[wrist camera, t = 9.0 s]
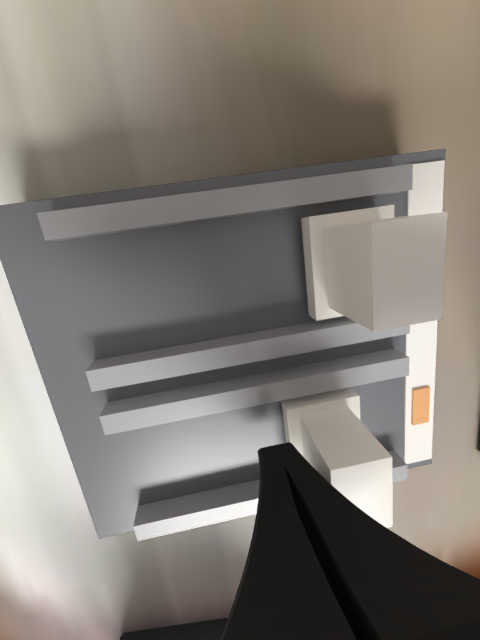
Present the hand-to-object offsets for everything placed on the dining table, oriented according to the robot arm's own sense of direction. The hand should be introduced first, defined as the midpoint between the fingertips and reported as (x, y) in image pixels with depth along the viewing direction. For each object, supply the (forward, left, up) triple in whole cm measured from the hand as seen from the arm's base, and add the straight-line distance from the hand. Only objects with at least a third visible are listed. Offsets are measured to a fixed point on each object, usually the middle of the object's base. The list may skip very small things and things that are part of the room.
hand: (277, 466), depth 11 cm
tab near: (-4, -7, -2) cm, 8 cm away
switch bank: (0, -4, -4) cm, 6 cm away
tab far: (-2, 0, -2) cm, 3 cm away
